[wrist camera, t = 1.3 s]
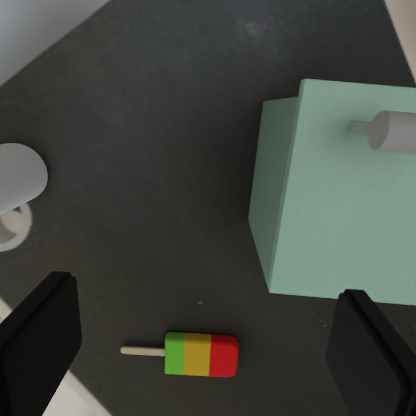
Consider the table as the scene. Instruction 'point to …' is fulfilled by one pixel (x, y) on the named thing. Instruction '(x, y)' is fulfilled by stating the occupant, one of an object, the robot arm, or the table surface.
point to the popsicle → (195, 354)
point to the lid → (349, 194)
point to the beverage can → (20, 175)
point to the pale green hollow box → (270, 175)
